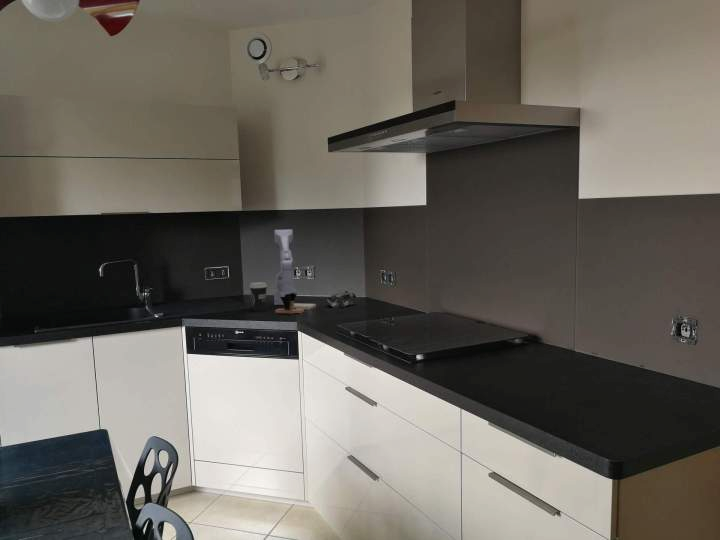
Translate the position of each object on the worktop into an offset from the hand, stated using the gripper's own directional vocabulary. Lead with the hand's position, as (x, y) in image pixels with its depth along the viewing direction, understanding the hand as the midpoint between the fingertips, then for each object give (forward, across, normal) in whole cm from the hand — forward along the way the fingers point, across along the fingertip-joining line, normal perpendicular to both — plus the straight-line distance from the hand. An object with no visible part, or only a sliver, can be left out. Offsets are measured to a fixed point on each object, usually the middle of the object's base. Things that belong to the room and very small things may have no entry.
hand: (289, 308), depth 299 cm
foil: (+3, +24, -20) cm, 31 cm away
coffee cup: (+2, +3, +19) cm, 19 cm away
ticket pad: (+2, +15, 0) cm, 15 cm away
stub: (+2, 0, 0) cm, 2 cm away
